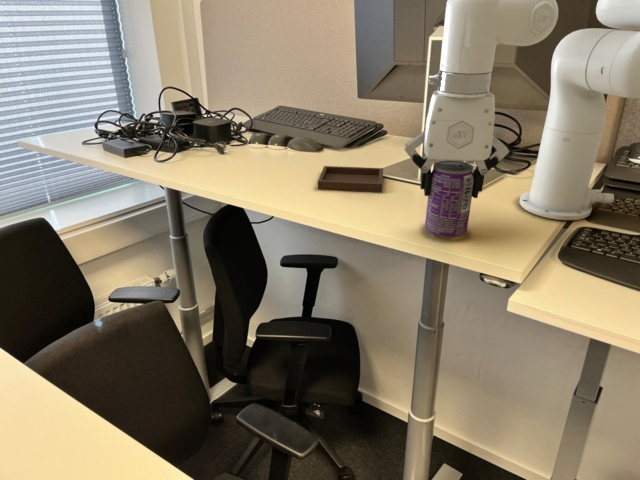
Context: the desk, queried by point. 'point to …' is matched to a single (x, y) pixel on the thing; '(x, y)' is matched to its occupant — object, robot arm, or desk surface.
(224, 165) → the desk surface
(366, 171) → the tray
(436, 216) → the beverage can
